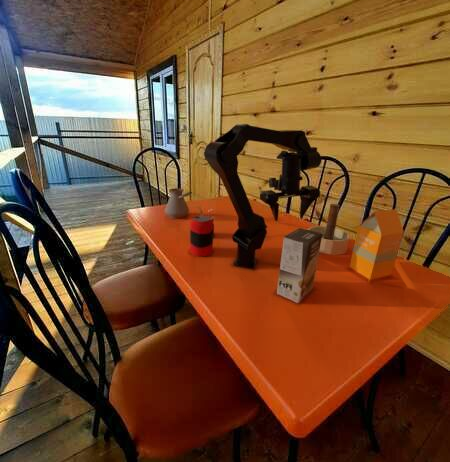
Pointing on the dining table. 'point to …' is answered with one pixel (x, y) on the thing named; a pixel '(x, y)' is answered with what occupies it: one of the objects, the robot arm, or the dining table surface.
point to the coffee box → (298, 264)
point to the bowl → (333, 241)
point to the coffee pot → (177, 204)
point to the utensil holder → (209, 217)
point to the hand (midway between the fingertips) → (288, 219)
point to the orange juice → (377, 244)
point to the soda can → (201, 236)
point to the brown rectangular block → (331, 221)
